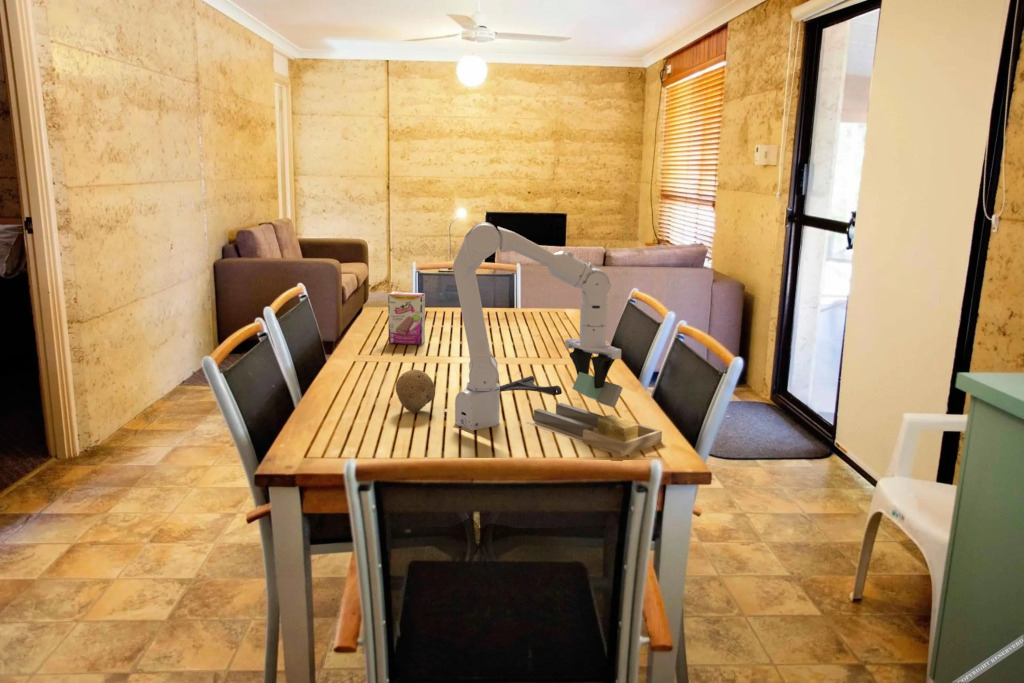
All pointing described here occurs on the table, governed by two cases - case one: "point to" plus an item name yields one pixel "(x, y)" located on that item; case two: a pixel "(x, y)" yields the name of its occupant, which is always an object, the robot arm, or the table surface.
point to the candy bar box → (406, 318)
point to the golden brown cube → (606, 424)
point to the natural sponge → (415, 390)
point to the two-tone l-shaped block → (597, 390)
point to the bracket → (530, 386)
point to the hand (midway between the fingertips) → (591, 385)
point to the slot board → (592, 430)
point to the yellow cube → (623, 430)
